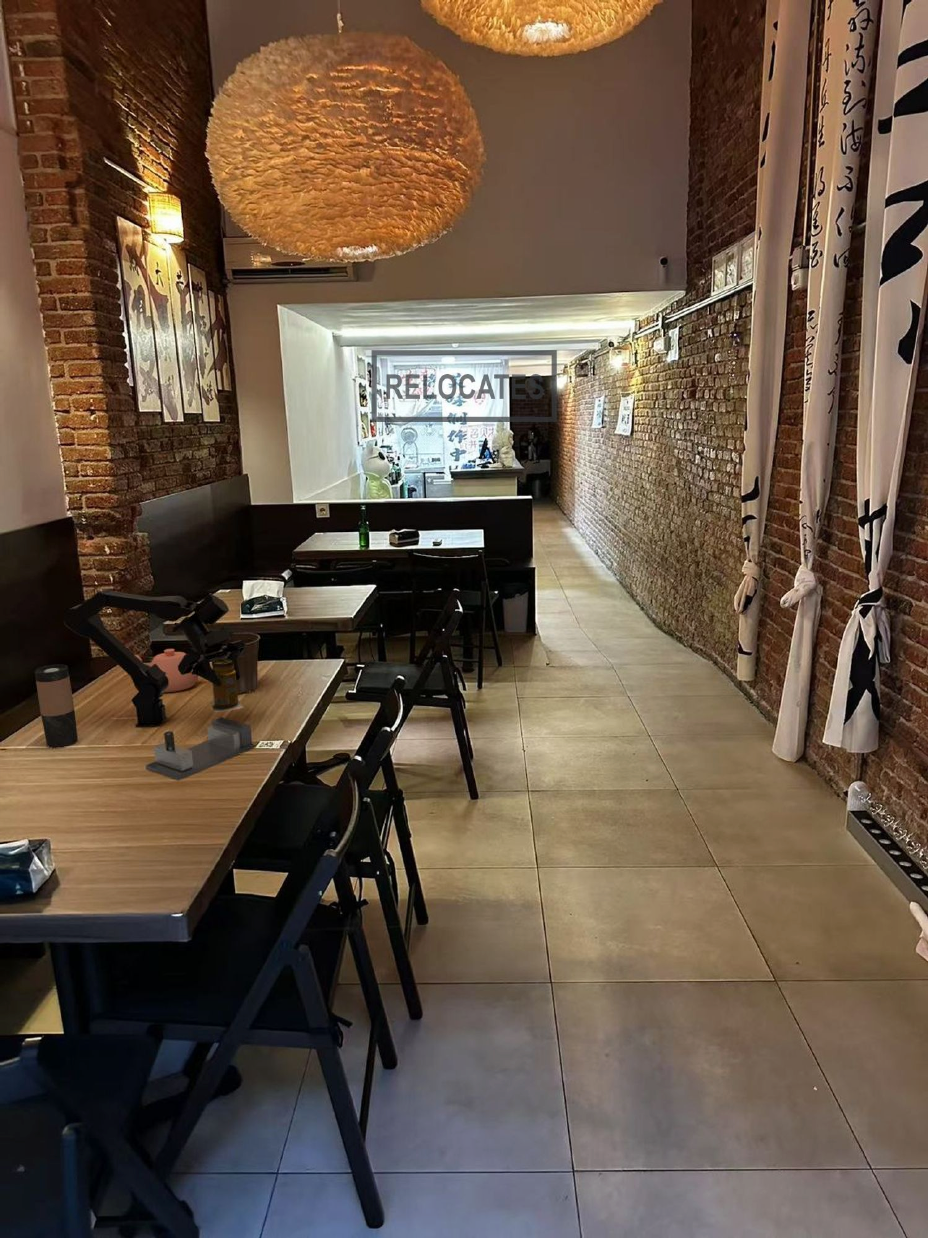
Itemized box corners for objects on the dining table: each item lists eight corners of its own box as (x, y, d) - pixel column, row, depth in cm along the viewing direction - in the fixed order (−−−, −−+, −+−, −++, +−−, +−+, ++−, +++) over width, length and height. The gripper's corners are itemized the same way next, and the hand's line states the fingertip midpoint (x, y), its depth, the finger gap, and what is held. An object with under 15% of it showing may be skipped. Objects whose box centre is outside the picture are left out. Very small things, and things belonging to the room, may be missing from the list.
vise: (178, 780, 176) (175, 755, 174) (146, 769, 182) (143, 745, 181) (253, 747, 193) (251, 725, 192) (222, 738, 200) (220, 716, 199)
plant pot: (256, 697, 232) (251, 645, 229) (202, 698, 233) (197, 646, 229) (270, 680, 248) (266, 631, 244) (220, 682, 248) (215, 633, 245)
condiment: (237, 699, 210) (233, 656, 208) (243, 708, 203) (239, 664, 200) (209, 703, 207) (205, 660, 204) (214, 713, 200) (210, 668, 197)
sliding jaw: (182, 771, 177) (178, 738, 176) (155, 762, 183) (151, 730, 181) (193, 766, 180) (189, 734, 178) (166, 758, 185) (162, 726, 184)
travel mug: (85, 739, 202) (74, 665, 197) (59, 750, 195) (48, 674, 191) (65, 735, 205) (54, 663, 201) (39, 746, 198) (27, 671, 194)
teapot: (129, 698, 235) (124, 659, 232) (137, 683, 249) (133, 646, 246) (205, 691, 239) (201, 653, 236) (209, 677, 254) (205, 641, 251)
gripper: (180, 624, 195) (213, 673, 191) (239, 610, 210) (270, 656, 206) (164, 650, 201) (195, 698, 197) (222, 635, 216) (252, 679, 212)
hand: (229, 682), depth 203 cm, fingers closed on condiment, 6 cm apart
